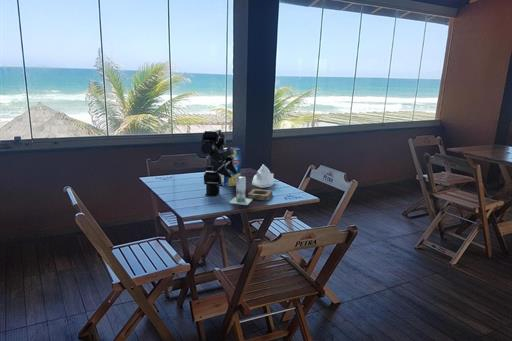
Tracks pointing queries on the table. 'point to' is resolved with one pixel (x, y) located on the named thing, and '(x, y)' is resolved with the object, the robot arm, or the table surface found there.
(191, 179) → the table surface
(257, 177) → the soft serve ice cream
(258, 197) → the walnut stand
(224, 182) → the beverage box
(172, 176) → the table surface
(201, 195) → the table surface
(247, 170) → the table surface
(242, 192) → the steel tube
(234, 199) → the sage mat
